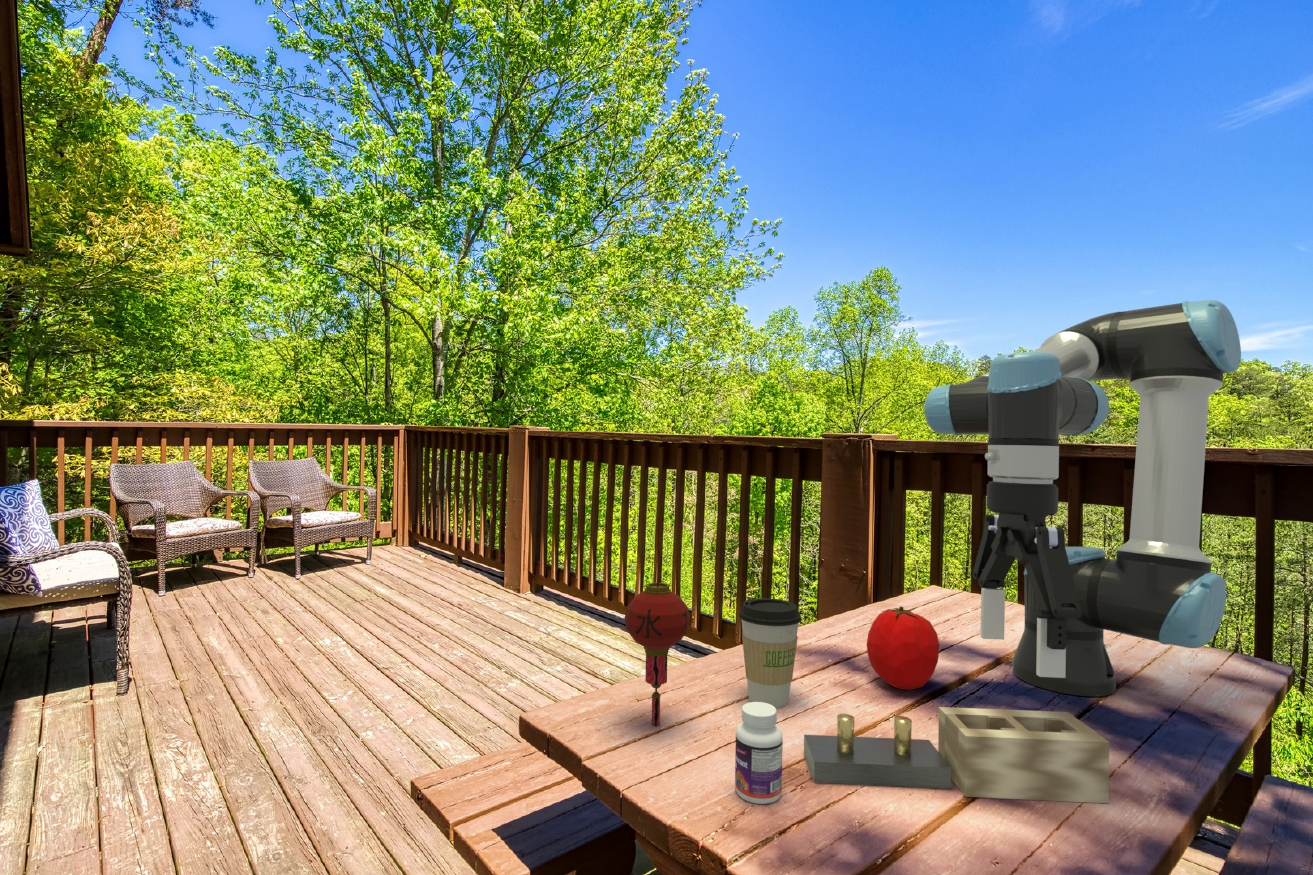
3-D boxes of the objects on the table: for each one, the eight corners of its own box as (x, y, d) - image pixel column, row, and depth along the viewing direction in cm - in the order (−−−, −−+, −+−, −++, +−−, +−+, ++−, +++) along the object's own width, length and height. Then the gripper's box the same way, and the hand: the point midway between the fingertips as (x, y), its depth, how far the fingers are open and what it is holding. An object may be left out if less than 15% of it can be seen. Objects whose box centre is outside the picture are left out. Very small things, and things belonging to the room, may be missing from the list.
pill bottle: (730, 780, 76) (731, 699, 76) (774, 778, 76) (775, 698, 76) (740, 806, 70) (741, 719, 70) (787, 804, 71) (788, 718, 71)
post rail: (928, 759, 81) (929, 708, 81) (950, 788, 74) (951, 733, 74) (803, 753, 82) (804, 703, 82) (814, 782, 75) (814, 728, 75)
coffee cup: (801, 716, 94) (802, 615, 94) (734, 709, 96) (736, 610, 96) (799, 690, 103) (800, 599, 103) (739, 685, 105) (740, 595, 105)
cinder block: (1067, 767, 80) (1067, 711, 80) (1108, 803, 72) (1109, 741, 72) (938, 761, 81) (938, 706, 81) (965, 796, 73) (965, 735, 73)
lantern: (696, 715, 93) (699, 513, 93) (677, 744, 84) (680, 520, 84) (636, 706, 96) (639, 510, 96) (612, 732, 87) (615, 517, 87)
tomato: (868, 695, 102) (869, 613, 102) (864, 669, 114) (865, 596, 114) (946, 704, 99) (947, 620, 99) (933, 676, 110) (934, 601, 110)
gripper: (948, 475, 89) (945, 624, 89) (1047, 486, 64) (1044, 694, 64) (1003, 476, 89) (1000, 626, 88) (1123, 488, 64) (1120, 698, 64)
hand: (1018, 655), depth 76 cm, fingers open, 13 cm apart
